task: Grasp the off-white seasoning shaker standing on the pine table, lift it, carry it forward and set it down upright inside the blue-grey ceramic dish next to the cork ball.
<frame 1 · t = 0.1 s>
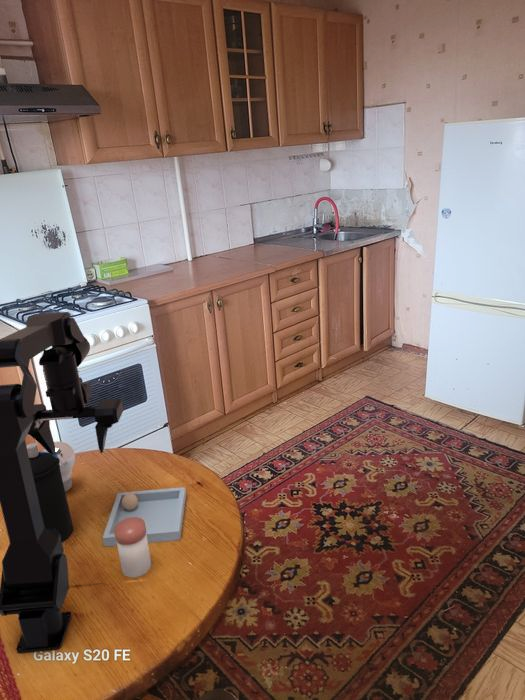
hand: (78, 453, 103), 15 cm above the table, fingers open, 9 cm apart
shaker: (137, 569, 93), on the table
light bulb: (65, 492, 117), on the table
aerosol can: (53, 537, 103), on the table
cork ball: (131, 508, 109), point 1 cm above the table, touching dish
dish: (148, 521, 106), on the table
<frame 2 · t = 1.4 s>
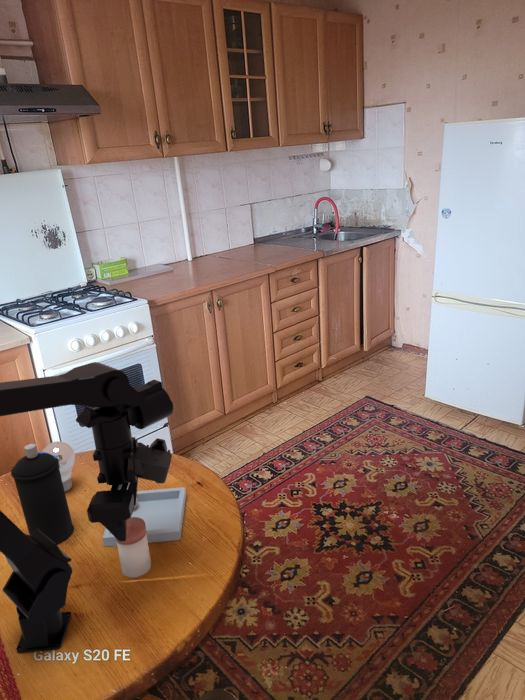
hand: (128, 522, 90), 10 cm above the table, fingers open, 9 cm apart
nothing on the table moved.
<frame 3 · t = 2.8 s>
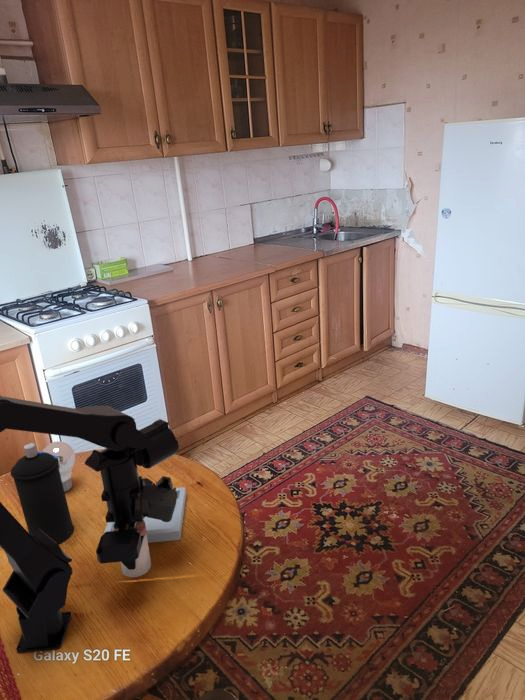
hand: (135, 557, 93), 3 cm above the table, fingers closed on shaker, 5 cm apart
shaker: (137, 569, 93), on the table, touching gripper
everything else where it was.
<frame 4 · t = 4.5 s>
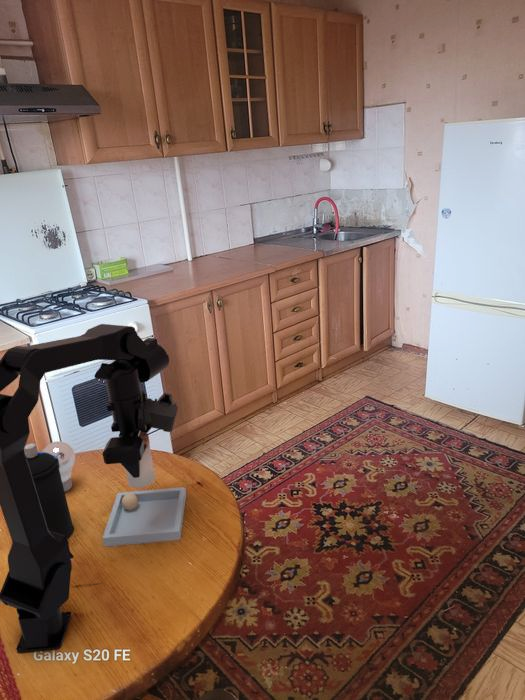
hand: (139, 468, 100), 13 cm above the table, fingers closed on shaker, 5 cm apart
shaker: (141, 480, 101), point 11 cm above the table, touching gripper
everything else where it was.
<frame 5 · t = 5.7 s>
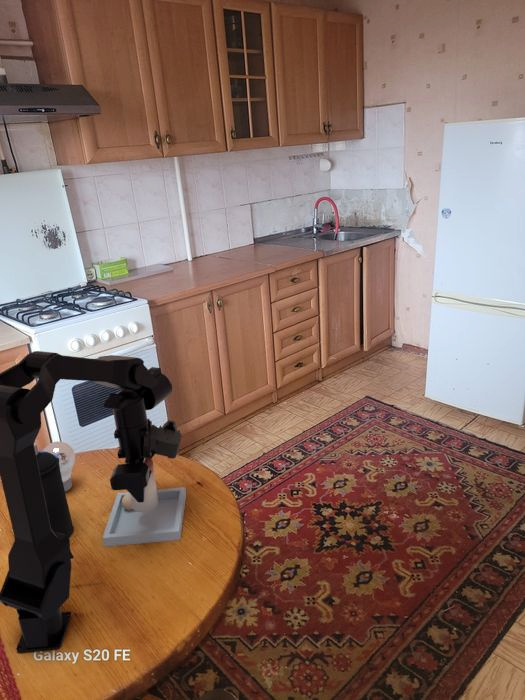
hand: (143, 493, 103), 7 cm above the table, fingers closed on shaker, 5 cm apart
shaker: (145, 504, 104), point 4 cm above the table, touching gripper
everything else where it was.
when the fingers open (4 cm above the table, at t = 6.5 s): shaker drops 1 cm, resting on dish.
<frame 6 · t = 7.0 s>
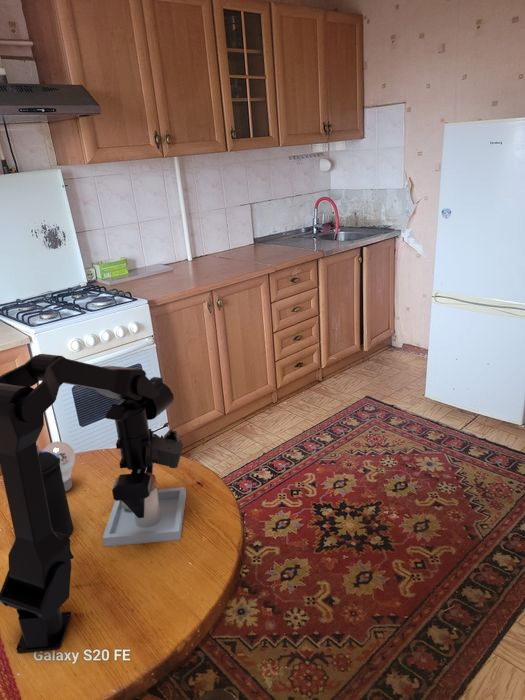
hand: (145, 502, 104), 4 cm above the table, fingers open, 9 cm apart
shaker: (148, 519, 105), point 1 cm above the table, touching dish
everything else where it was.
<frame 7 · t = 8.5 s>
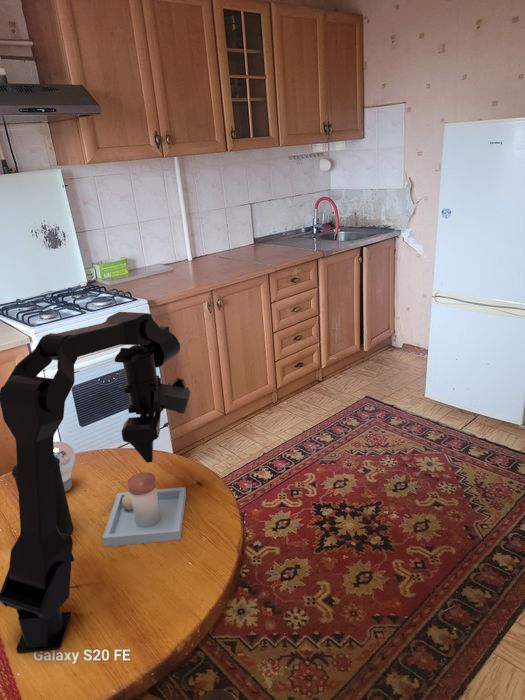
hand: (152, 449, 106), 13 cm above the table, fingers open, 9 cm apart
nothing on the table moved.
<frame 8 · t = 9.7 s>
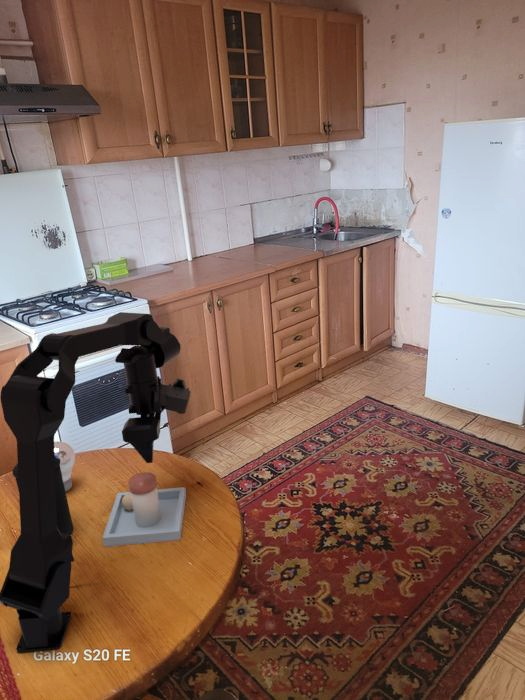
hand: (153, 450, 106), 13 cm above the table, fingers open, 9 cm apart
nothing on the table moved.
at the end: shaker inside the target area on the dish (0.1 cm from its centre), point 0.6 cm above the dish's base; shaker tilted 1°; the gripper is holding nothing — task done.
